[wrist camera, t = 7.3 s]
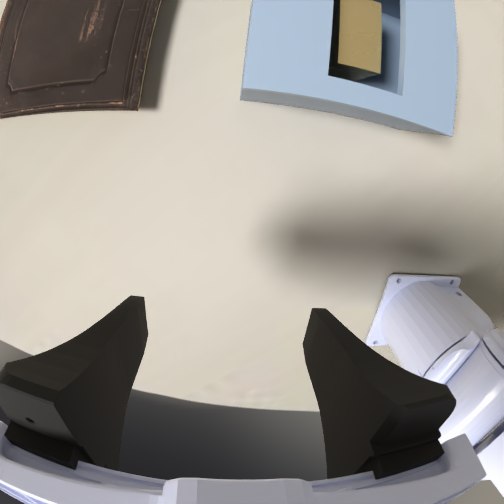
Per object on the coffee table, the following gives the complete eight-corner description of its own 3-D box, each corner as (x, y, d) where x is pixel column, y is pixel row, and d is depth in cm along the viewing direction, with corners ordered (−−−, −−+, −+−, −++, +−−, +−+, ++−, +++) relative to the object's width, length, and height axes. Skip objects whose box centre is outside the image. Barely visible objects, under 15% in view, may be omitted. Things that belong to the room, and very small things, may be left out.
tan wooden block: (354, 22, 15) (381, 3, 11) (351, 82, 17) (380, 73, 13) (319, 14, 15) (340, -10, 11) (316, 75, 17) (337, 62, 13)
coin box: (406, 18, 15) (453, -3, 9) (399, 129, 19) (452, 136, 13) (254, -21, 14) (262, -67, 8) (240, 100, 18) (242, 87, 12)
